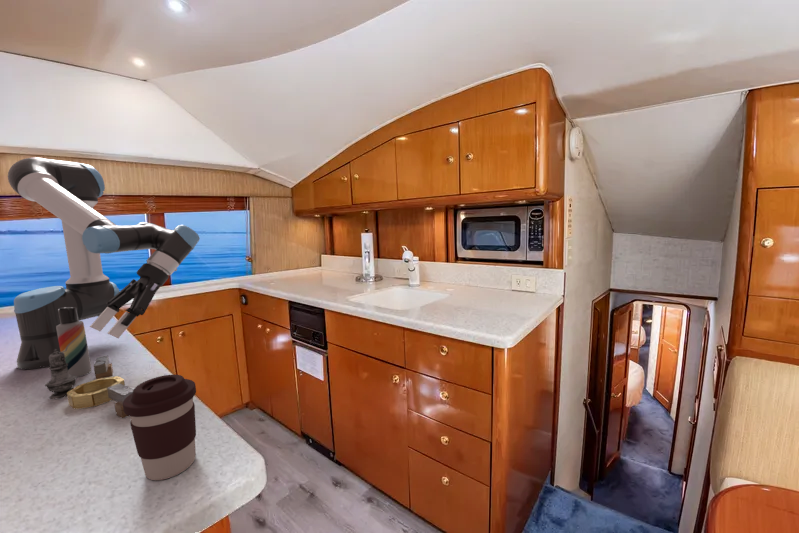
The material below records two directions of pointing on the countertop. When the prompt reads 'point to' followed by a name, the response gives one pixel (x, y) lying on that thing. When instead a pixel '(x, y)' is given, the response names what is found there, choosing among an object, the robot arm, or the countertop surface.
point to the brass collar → (92, 392)
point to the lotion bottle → (73, 342)
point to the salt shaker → (59, 376)
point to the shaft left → (103, 367)
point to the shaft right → (119, 397)
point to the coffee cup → (163, 424)
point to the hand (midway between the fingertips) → (103, 332)
